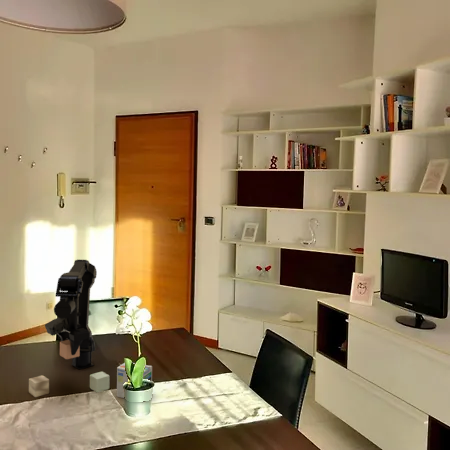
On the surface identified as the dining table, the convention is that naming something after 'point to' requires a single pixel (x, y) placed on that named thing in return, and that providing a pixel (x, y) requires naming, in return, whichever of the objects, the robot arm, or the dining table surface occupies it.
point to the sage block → (99, 381)
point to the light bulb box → (123, 377)
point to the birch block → (38, 386)
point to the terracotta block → (67, 350)
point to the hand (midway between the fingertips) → (69, 352)
